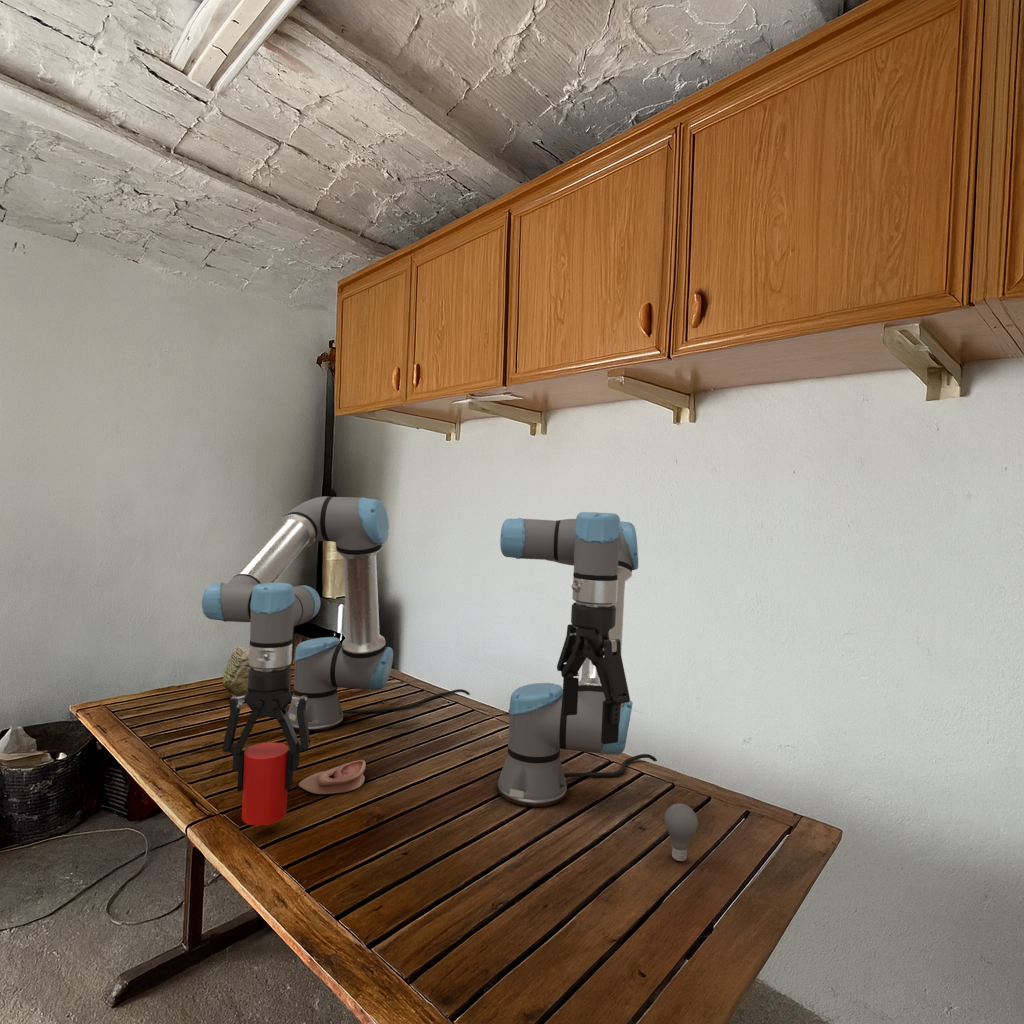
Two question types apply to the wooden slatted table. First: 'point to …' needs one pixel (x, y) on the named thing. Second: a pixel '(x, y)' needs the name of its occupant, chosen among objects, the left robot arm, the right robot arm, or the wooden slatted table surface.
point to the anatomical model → (336, 779)
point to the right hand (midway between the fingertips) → (588, 727)
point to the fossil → (237, 672)
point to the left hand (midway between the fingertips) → (265, 787)
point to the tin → (264, 783)
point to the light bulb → (680, 828)
